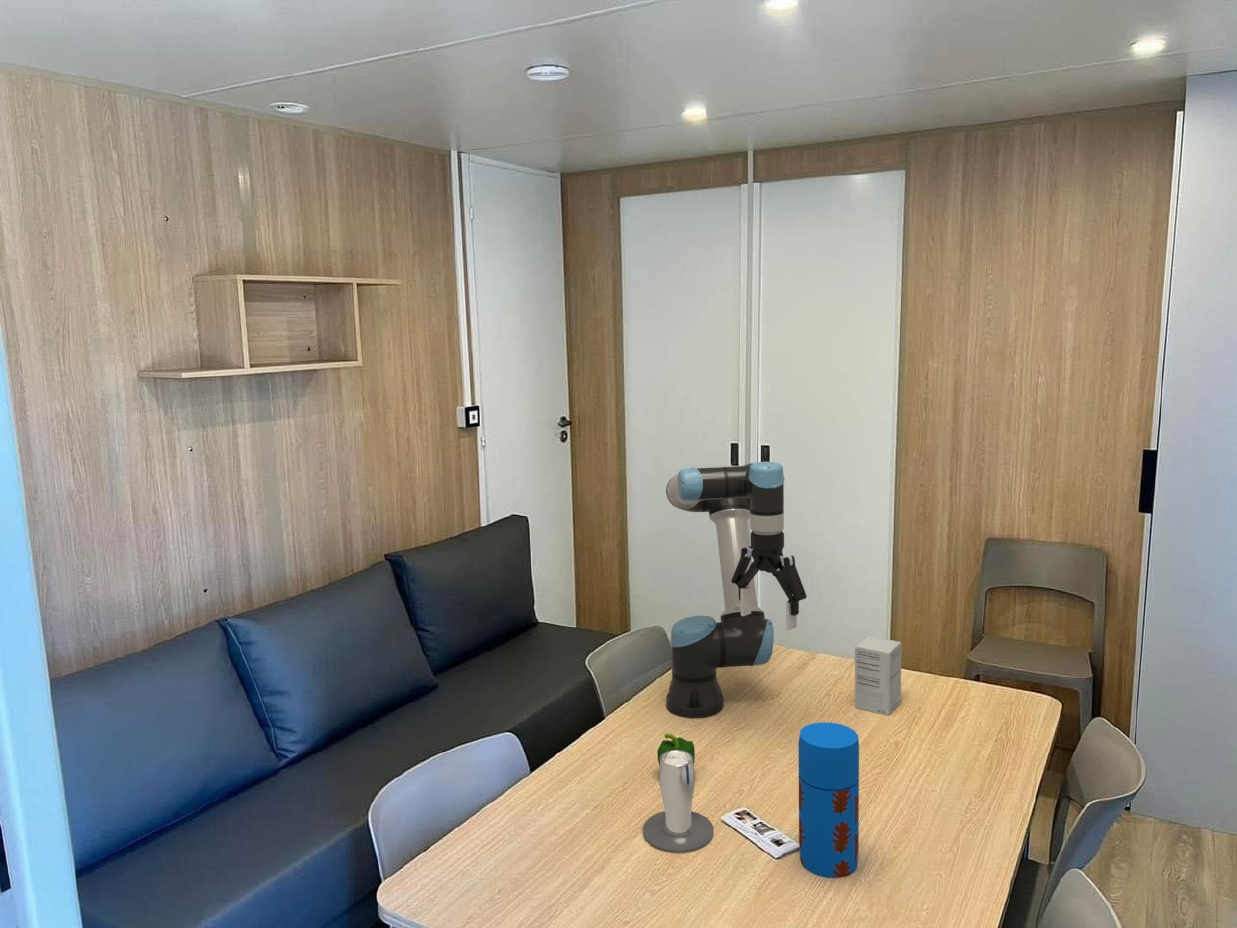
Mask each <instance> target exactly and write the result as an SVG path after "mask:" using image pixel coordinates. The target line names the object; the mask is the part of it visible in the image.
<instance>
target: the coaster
mask: <svg viewBox="0 0 1237 928" xmlns="http://www.w3.org/2000/svg"><path fill="white" fill-rule="evenodd" d="M691 814H692V820H693V825H694V830H693V832H692V833H691V834H689V835H687V836H684V837H674V836H670V835H668V834H666V833H665V832H664V829H663V826H664V820H665V810H664V811H661V812H657V813H655V814H653V815H652V816H649V818H647V820H645V822H644V823H643V825H642V835H643V839H644V838H645V839H644V840H645V842H646V841H647V842H648V843H649V844H650V846H651V847H652V846H653V847H652V848H654V849H656V850H659V851H662V852H665V853H673V854H685V853H691V852H695V851H698V850H700V849H703V848H705V847H706V846H707V845H708V844H710V843H711V841H712V839H713V838H714V826H713V824H712V822H711V821H710V819H708V817H706V816H704V815H703V814H701V813H699V812H695V811H692V810H691ZM647 842H646V843H647ZM648 843H647V844H648ZM649 844H648V845H649Z"/></svg>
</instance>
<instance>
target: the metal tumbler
mask: <svg viewBox="0 0 1237 928" xmlns="http://www.w3.org/2000/svg"><path fill="white" fill-rule="evenodd" d="M658 769H659V771H658V772H659V773H658V774H659V777H658V778H659V779H658V780H659V788H660V793H661V798H662V802H663V808H664V811H665V820H664V826H663V829H664V832H665V833H666V834H668V835H670V836H674V837H684V836H687V835H689V834H691V833H692V832H693V830H694V825H693V820H692V814H691V811H692V808H693V799H694V794H695V793H694V792H695V785H696V784H695V782H696V777H695V775H696V774H695V763H694V764H693V756H692V755H691V754H690V753H688V752H685V751H680V750H673V751H668V752H665V753H663V754H662V755H661V756H660V766H659V768H658Z"/></svg>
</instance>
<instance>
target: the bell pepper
mask: <svg viewBox="0 0 1237 928" xmlns="http://www.w3.org/2000/svg"><path fill="white" fill-rule="evenodd" d="M664 738H665V739H666V740H664V739H662V740H661V743H660V745H659V747H658V749H657V753H656V754H657V762H658V766H659V767H660V756H661V755H662V754H663V753H665V752H668V751H673V750H680V751H685V752H688V753H690V754H691V755H692V756H693V764H694V765H695V758H696V757H695V756H696V755H695V745H694V742H693V741H691V740H686V739H684V738H683V737H680V736H679V737H676V736H675V735H674V734H672V733H665V734H664ZM667 739H671V740H667Z"/></svg>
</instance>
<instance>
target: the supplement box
mask: <svg viewBox="0 0 1237 928" xmlns="http://www.w3.org/2000/svg"><path fill="white" fill-rule="evenodd" d="M901 702H902V641H899V640H898V641H897V640H892V639H885V638H881V637H876V636H871V635H867V636H866V637H865V638H864V639H863V640H862V641H860V642H859V643H858V644H857V645H856V646H854V708H855V709H858V710H862V711H863V710H864V711H866V710H867V712H870V713H871V712H872V713H876V714H880V715H884V716H888V717H889V716H890V715H891V714H892V713H893V712H894V711H895V710H896V709H897V707H898V706H899V705H900V704H901Z"/></svg>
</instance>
